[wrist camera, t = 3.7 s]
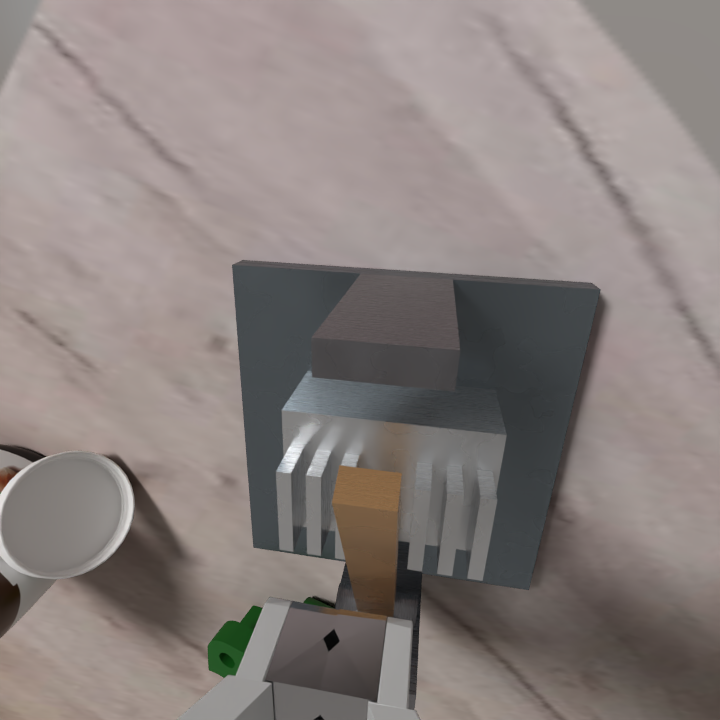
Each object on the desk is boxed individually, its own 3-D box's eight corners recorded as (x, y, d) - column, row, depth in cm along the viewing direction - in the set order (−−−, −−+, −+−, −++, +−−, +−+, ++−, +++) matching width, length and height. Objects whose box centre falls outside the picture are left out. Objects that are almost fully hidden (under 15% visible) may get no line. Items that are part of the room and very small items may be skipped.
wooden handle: (442, 474, 11) (440, 521, 11) (416, 598, 22) (414, 627, 21) (302, 457, 12) (290, 501, 11) (341, 586, 22) (337, 614, 21)
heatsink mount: (591, 283, 20) (710, 372, 11) (525, 572, 27) (566, 773, 18) (242, 260, 22) (110, 319, 13) (260, 533, 29) (180, 694, 20)
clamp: (288, 551, 35) (214, 603, 27) (360, 582, 33) (304, 650, 25) (250, 700, 35) (165, 799, 27) (319, 740, 33) (250, 861, 25)
